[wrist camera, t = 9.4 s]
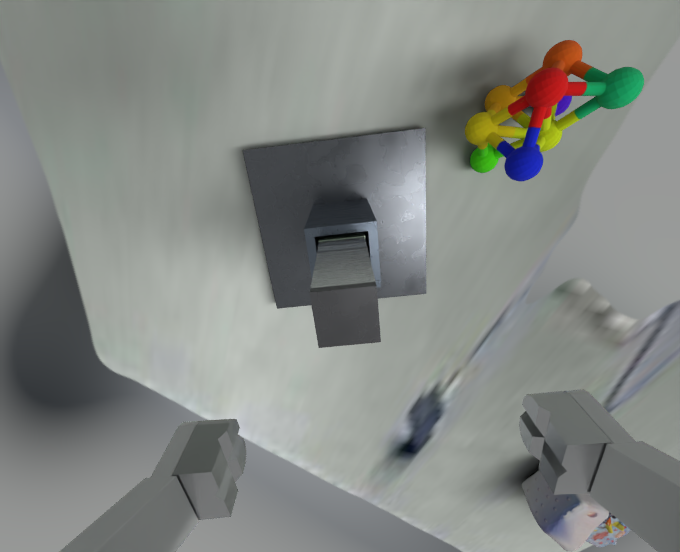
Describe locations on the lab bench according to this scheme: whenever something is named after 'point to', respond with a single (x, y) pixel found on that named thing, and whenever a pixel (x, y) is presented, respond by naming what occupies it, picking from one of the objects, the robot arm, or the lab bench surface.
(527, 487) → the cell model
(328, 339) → the post
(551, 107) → the molecular model
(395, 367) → the lab bench surface
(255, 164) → the dark grey socket base
